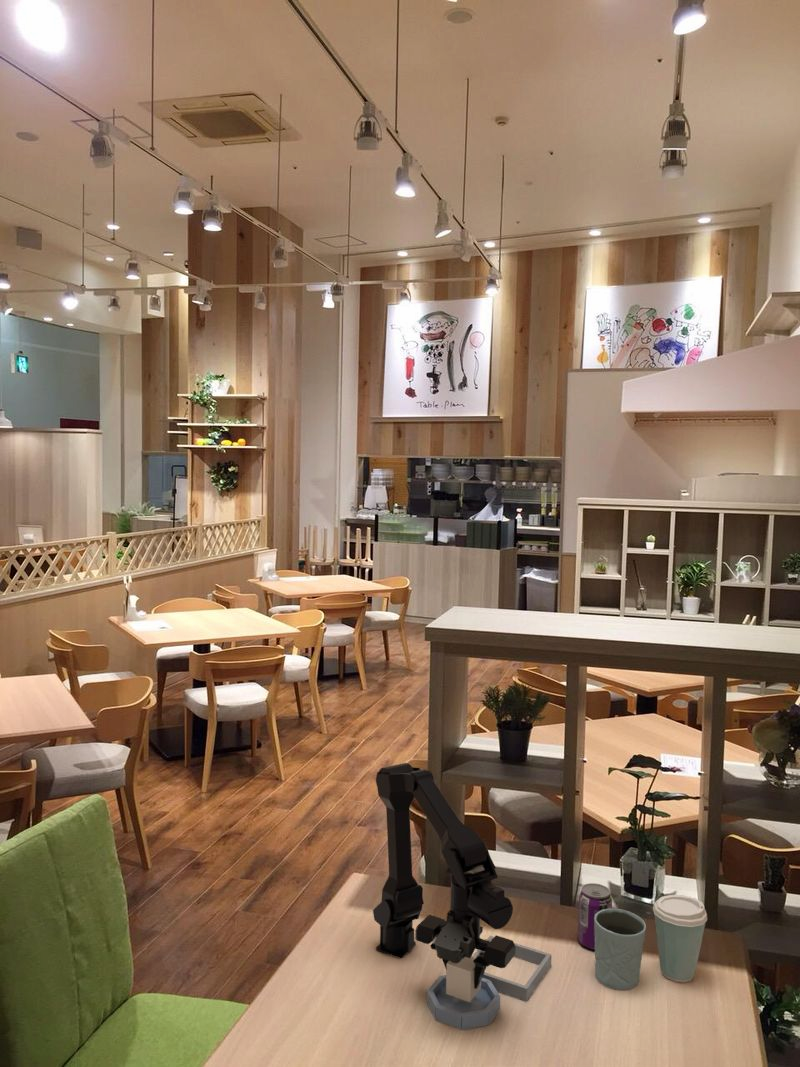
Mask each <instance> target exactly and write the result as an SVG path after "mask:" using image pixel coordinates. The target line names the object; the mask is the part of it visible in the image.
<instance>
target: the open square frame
mask: <svg viewBox="0 0 800 1067" xmlns="http://www.w3.org/2000/svg"><path fill="white" fill-rule="evenodd" d="M494 937H495V936H493V935H489V936H488V938H487V939H491V940H492V939H493V938H494ZM514 944H515V946H516V951H515V956H514V957H513V958H517V959H521V960H524V961H527V962H530V963H533V964H537V965H538V966H537V967H536V969H535V970H534V972H533V973H532V975H531V976H530V977H529V979H528V980H527V981H526V983H525V985H524V984H522V983H518V982H515V981H512V980H509V979H506V978H503V977H501V976H497V975H494V974H491V973H488V972H484V974H483V977H482V978H485V979H488V980H490V981H491V982H492V984H493V985H494V987H495V989H496V990H497V992H498V993H501V994H503V995H507V996H509V997H513V998H516V999H518V1000H522V1001H524V1002H528V1000H529V999H530V997H531V996H532V995H533V994H534V992H535V991H536V989H537V987H538V986H539V984H540V983H541V981H543V979H544V977H545V976H546V974H547V973H548V971H549V970H550V968H551V967H552V953H549V952H544V951H542V950H539V949H535V948H533V947H532V948H531V947H528V946H525V945H522V944H518V943H516V942H514ZM472 955H473V956H476V957H477V956H478V955H479V953H478V950H477V949H476V951H475V953H473V954H472Z"/></svg>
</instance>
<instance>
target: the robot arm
mask: <svg viewBox="0 0 800 1067" xmlns="http://www.w3.org/2000/svg"><path fill="white" fill-rule="evenodd" d="M375 784H376V788H377V794H378V797H379V799H380V800H381V802H382V803H383V805H384V806H385V807H386V808H385V810H386V828H387V830H386V831H387V834H386V835H387V852H388V854H387V856H388V876H387V879H386V880H385V883H384V885H383V888H382V891H381V902H380V903H379V904H378V905H376V907H375V908H374V909H372V914H373V920H374V922H376V923H377V924H379V926H380V927H379V944H378V945H376V947H375V950H376V951H378V952H381V953H384V954H387V955H390V956H393V957H395V958H399V959H403V958H404V957H406V955H407V954H408V953H409V952H410V951H411V950H412V949H413V948H414V947H415V946H416V944H417V942H420V943H423V944H424V945H425V944H426V945H429V944H430V945H429V946H430V949H432V950H434V951H435V952H436V956H437V958H439V959H440V960H442V963H443V965H444V968H445V972H447V963H448V961H451V962H452V963H459V962H460V961H461V960H462V959H464V957H467V958H471V956H472V955H474V951H475V950H476V951H477V950H478V953H479V955H478V956H477V957H476V958H475V960H474V961H473V962H474V964H475V976H474V988H475V989H477V988H478V986H479V984H480V981H481V979H482V977H483V974H484V972H485V971H486V969H487V968H488V967H490V966H491V967H492V966H493V967H495V968H499V969H505V968H506V967H507V965H508V964H510V962H511V961H512V960H513V958H515V957H514V956H515V951H516V946H515V944H514V943H515V942H514V940H512V939H509V938H506V937H503V936H499V935H494V936H493V937H494V938H493V939H492V940H491V939H488V938H486V939H485V938H481V934H482V933H483V928H484V927H483V926H481V921H483V922H484V923H485V924H487V925H488V926H490V927H491V928H492V929H494V930H501V929H503V928H504V927H505V926H507V924H508V923H509V921H510V920H511V918H512V915H513V910H514V906H513V904H512V901H511V899H510V898H508V897H507V896H505V890H504V889H503V888H501V887H500V886H496V885H495V884H494V883H492V881H493V880H496V879H498V874H497V872H496V865H495V864H494V862H493V859H492V857H491V855H490V853H489V849H488V847H487V844H486V843H485V841H484V840H483V839H482V838H481V836H480V835H479V834H478V833H477V832H476V831H475V830H474V828H471V827H470V826H468V825H466V824H465V823H463V822H462V821H461V820H460V818H459V817H458V815H457V814H456V812H455V811H454V809H453V808H452V806H451V804H449V802H448V800H447V799H446V797H445V796H444V795H443V793H442V791H441V790H440V788H439V786H438V785H437V783H436V782H435V779H434V776H433V773H432V771H430V770H429V769H427V768H425V769H423V768H422V766H421V767H420V766H418V767H417V766H412V765H411V764H410V763H408V762H403V763H398V764H394V765H388V766H383V767H381V768H380V769H379V770H378V771H377V772H376V777H375ZM414 799H415V800H416V801H417V803H418V805H419V807H420V808H421V809H422V811H423V813H424V814H425V815H426V818H427V819H428V820H429V822H430V824H431V826H432V827H433V829H434V830H435V832H436V833H437V835H438V837H439V839H440V842H441V844H440V848H441V849H440V851H441V855H442V856H443V858H444V860H445V862H446V865H447V868H446V869H444V874H445V875H446V876H448V877H449V878H450V904H449V905H450V906H449V908H450V909H449V910H448V911H447V912H446V918H442V917H439V916H435V915H432V914H428V915H427V916H426V917H425V918H424V919H423V920H422V921H420V922H419V923H418V925H417V926H416V928H415V927H413V921H414V920H418V919H420V914H421V912H422V911H423V905H424V898H423V894H424V893H423V891H424V890H423V886H422V885H421V884H419V883H418V882H417V880H416V879H415V878H414V876H413V860H412V859H413V858H412V857H413V856H412V837H411V836H412V832H411V812H410V810H411V808H410V807H411V806H412V804H413V801H414ZM480 868H483V870H481V871H476V872H473V870H476V869H480ZM415 940H416V941H415ZM485 973H486V972H485Z"/></svg>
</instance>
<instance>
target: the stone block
mask: <svg viewBox="0 0 800 1067" xmlns="http://www.w3.org/2000/svg"><path fill="white" fill-rule="evenodd" d="M473 955H474V954H472V956H471V958H467V957H464V959H462V960H461V961H460V962H459V963H452V962H451V961H448V963H447V971H445V972H446V974H445V975H446V994H448V995H451V996H454V997H456V998H459V999H462V1000H465V1001H467V1002H471V1000H472V999H473V998H474V997H475V995H476V994H477V993H478V992H479V990H480V989H481V981H480V984H479V986H478V988H477V989H475V988H474V976H475V964H474V962H473V961H474V960H475V958H476V956H473Z"/></svg>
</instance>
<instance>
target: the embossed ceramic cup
mask: <svg viewBox="0 0 800 1067" xmlns="http://www.w3.org/2000/svg"><path fill="white" fill-rule="evenodd" d="M594 926H595V949H594V959H595V963H594V971H595V972H594V974H595V975H594V976H595V978H596V980H597V981H598V983H600V984H601V985H603V986H604V987H606V988H609V989H611V990H615V991H629V990H632V989H635V988H636V987H637V986H638V983H639V981H640V980H639V979H640V974H641V973H640V972H641V967H642V960H643V954H644V953H643V951H644V946H643V945H644V942H645V938H646V929H647V925H646V923H645V920H643V919H642V917H640V916H639V915H637V914H635V913H633V912H631V911H628V910H625V909H622V908H621V909H620V908H612V909H604V910H601V911H599V912H597V913H596V914H595V917H594Z"/></svg>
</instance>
